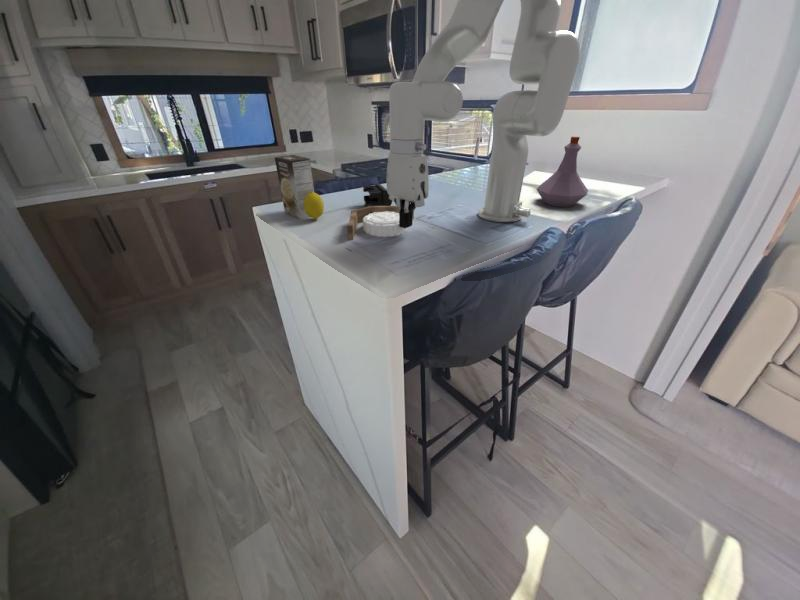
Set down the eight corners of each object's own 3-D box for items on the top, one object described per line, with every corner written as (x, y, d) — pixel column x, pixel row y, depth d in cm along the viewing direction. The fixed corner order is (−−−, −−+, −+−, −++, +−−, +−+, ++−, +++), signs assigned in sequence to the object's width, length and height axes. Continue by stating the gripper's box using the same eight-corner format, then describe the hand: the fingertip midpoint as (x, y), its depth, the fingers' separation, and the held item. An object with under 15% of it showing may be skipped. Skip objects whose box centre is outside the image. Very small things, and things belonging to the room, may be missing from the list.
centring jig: (415, 218, 96) (415, 206, 95) (350, 240, 82) (349, 226, 80) (392, 211, 102) (391, 199, 100) (327, 230, 87) (325, 217, 86)
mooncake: (416, 231, 88) (416, 218, 86) (378, 241, 82) (378, 227, 80) (391, 219, 96) (390, 207, 94) (355, 227, 90) (354, 214, 88)
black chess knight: (393, 211, 103) (392, 189, 99) (371, 213, 101) (370, 190, 97) (384, 202, 111) (383, 182, 107) (363, 204, 109) (362, 183, 105)
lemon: (308, 223, 92) (304, 194, 88) (304, 218, 96) (299, 190, 92) (327, 220, 94) (324, 192, 90) (322, 215, 99) (318, 188, 94)
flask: (549, 194, 120) (564, 133, 110) (595, 204, 109) (615, 137, 98) (523, 201, 112) (535, 136, 101) (569, 213, 101) (589, 141, 90)
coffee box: (283, 213, 101) (273, 156, 92) (301, 208, 105) (293, 154, 96) (300, 219, 95) (290, 160, 87) (318, 214, 99) (310, 157, 91)
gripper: (443, 149, 72) (438, 229, 81) (394, 143, 80) (395, 216, 90) (421, 152, 67) (418, 237, 77) (371, 146, 76) (375, 223, 85)
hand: (405, 226), depth 83 cm, fingers closed
